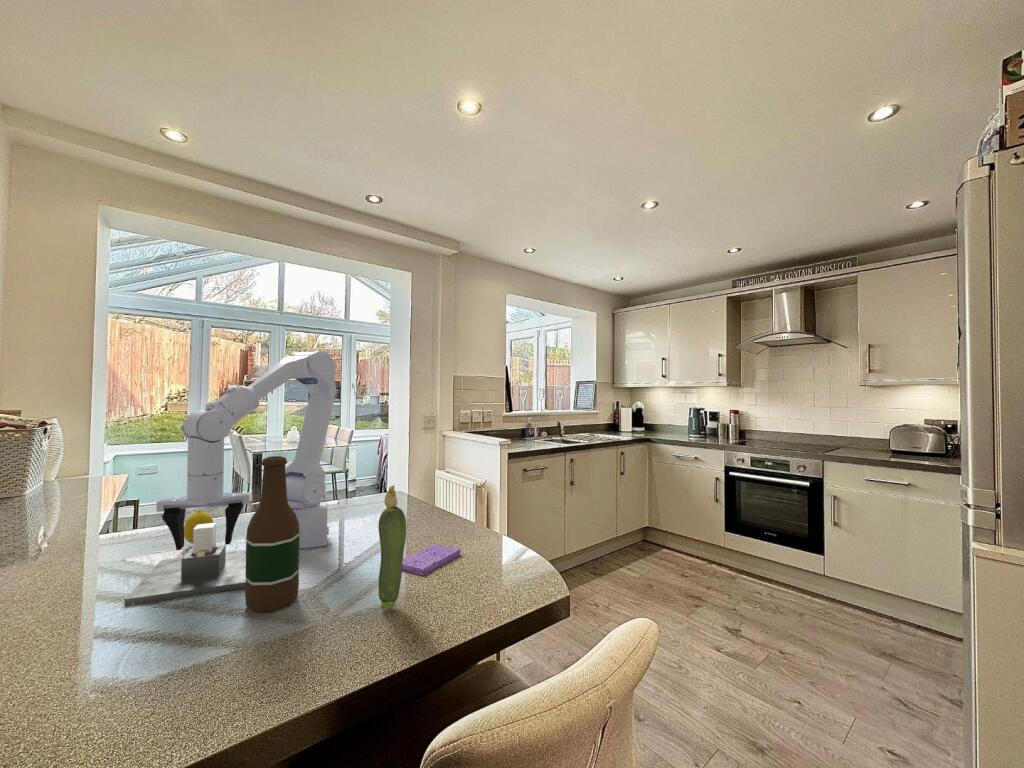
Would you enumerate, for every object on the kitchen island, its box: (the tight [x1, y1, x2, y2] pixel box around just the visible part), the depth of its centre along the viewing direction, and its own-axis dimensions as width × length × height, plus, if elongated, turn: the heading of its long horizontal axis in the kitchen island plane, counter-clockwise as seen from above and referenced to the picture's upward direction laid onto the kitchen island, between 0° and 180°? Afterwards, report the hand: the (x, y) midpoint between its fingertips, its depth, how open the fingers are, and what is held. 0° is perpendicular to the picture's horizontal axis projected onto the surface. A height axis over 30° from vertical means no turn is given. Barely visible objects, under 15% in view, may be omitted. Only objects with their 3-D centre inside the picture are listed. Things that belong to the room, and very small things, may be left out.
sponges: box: [402, 543, 461, 576], centre depth 92 cm, size 7×13×2 cm, turn 151°
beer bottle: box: [244, 455, 300, 614], centre depth 73 cm, size 8×8×24 cm
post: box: [192, 522, 217, 556], centre depth 84 cm, size 3×3×8 cm
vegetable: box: [378, 485, 407, 611], centre depth 72 cm, size 4×4×20 cm
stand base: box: [124, 544, 246, 606], centre depth 84 cm, size 18×18×5 cm
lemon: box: [184, 509, 215, 545], centre depth 99 cm, size 6×6×8 cm
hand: (204, 545), depth 84 cm, fingers open, 7 cm apart
